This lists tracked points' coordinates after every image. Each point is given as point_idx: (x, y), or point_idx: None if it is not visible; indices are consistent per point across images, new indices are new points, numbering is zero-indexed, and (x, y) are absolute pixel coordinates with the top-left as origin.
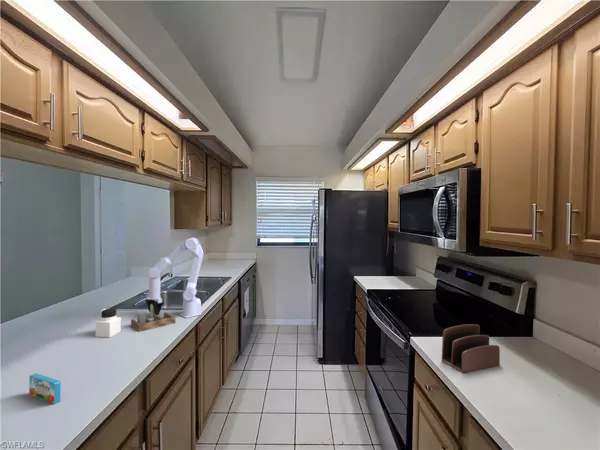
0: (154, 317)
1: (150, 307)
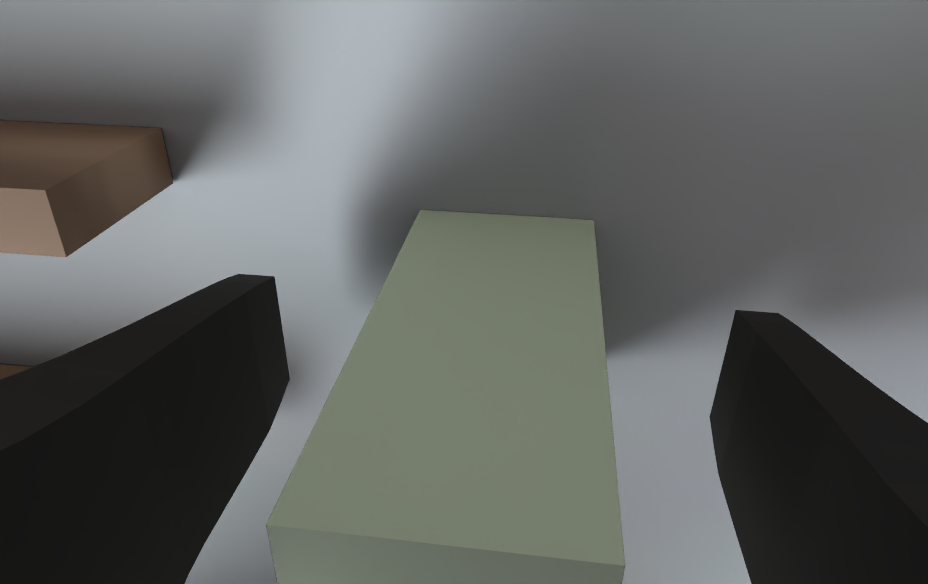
0: (17, 158)
1: (608, 418)
